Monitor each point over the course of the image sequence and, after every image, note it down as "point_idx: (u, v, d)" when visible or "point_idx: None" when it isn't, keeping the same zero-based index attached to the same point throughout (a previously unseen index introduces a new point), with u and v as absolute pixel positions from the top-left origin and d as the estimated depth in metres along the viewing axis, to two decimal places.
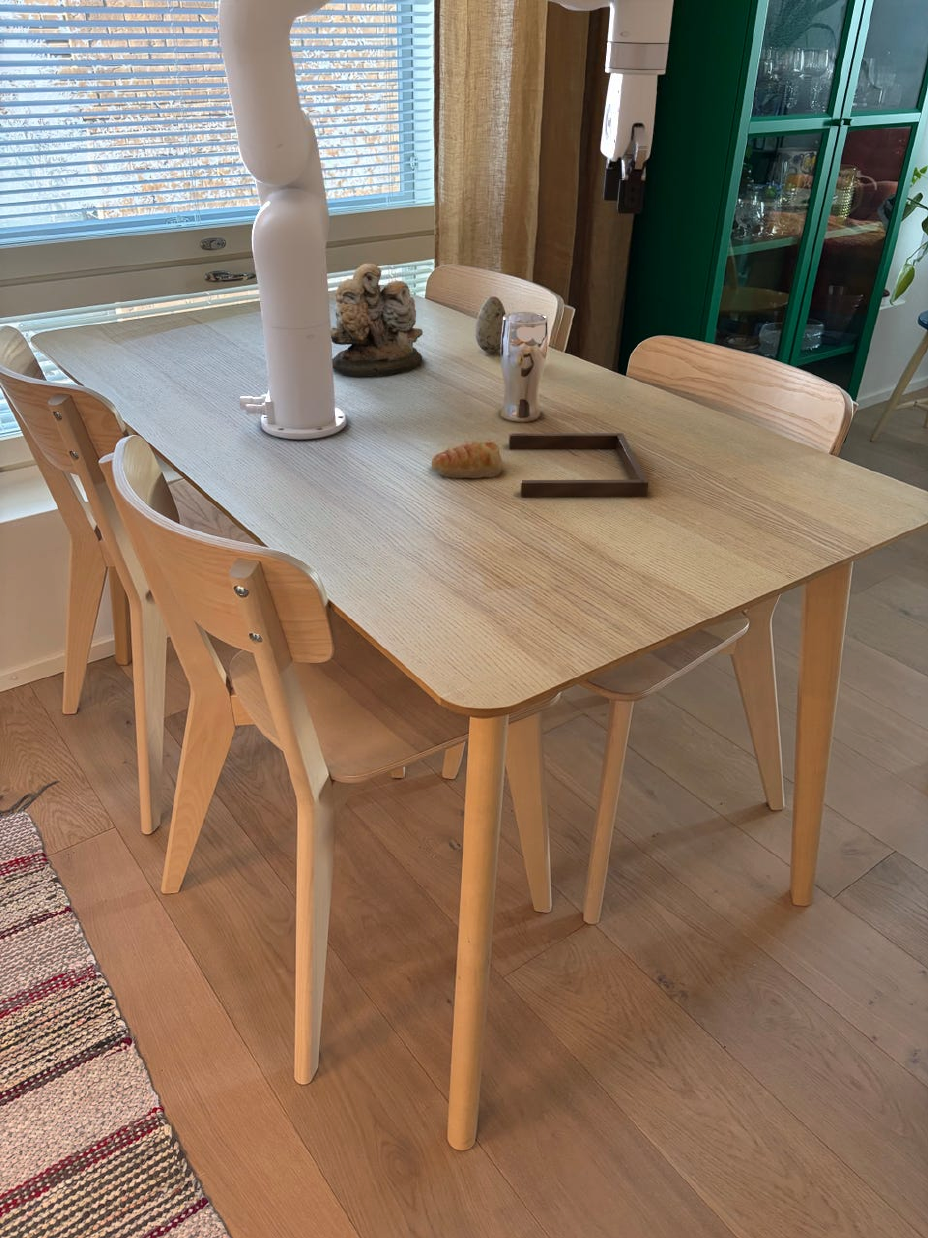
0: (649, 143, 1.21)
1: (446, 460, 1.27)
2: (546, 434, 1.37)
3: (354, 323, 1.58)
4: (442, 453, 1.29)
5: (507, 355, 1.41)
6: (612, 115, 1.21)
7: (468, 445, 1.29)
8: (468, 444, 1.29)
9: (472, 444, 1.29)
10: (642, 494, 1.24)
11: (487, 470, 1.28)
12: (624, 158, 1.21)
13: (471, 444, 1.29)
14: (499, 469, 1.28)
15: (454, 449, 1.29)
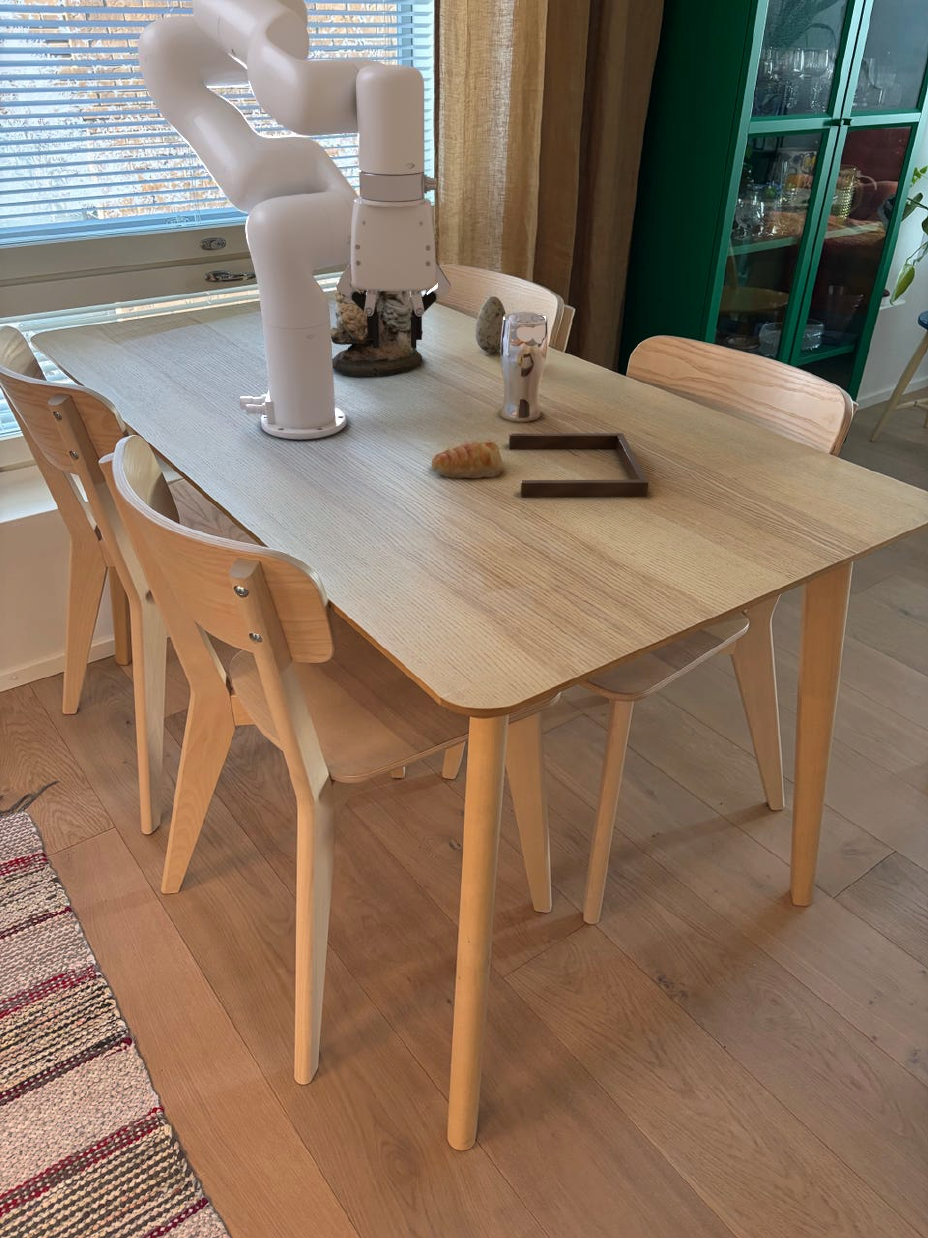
0: (352, 270, 1.14)
1: (446, 460, 1.27)
2: (546, 434, 1.37)
3: (354, 323, 1.58)
4: (442, 453, 1.29)
5: (507, 355, 1.41)
6: None
7: (468, 445, 1.29)
8: (468, 444, 1.29)
9: (472, 444, 1.29)
10: (642, 494, 1.24)
11: (487, 470, 1.28)
12: None
13: (471, 444, 1.29)
14: (499, 469, 1.28)
15: (454, 449, 1.29)
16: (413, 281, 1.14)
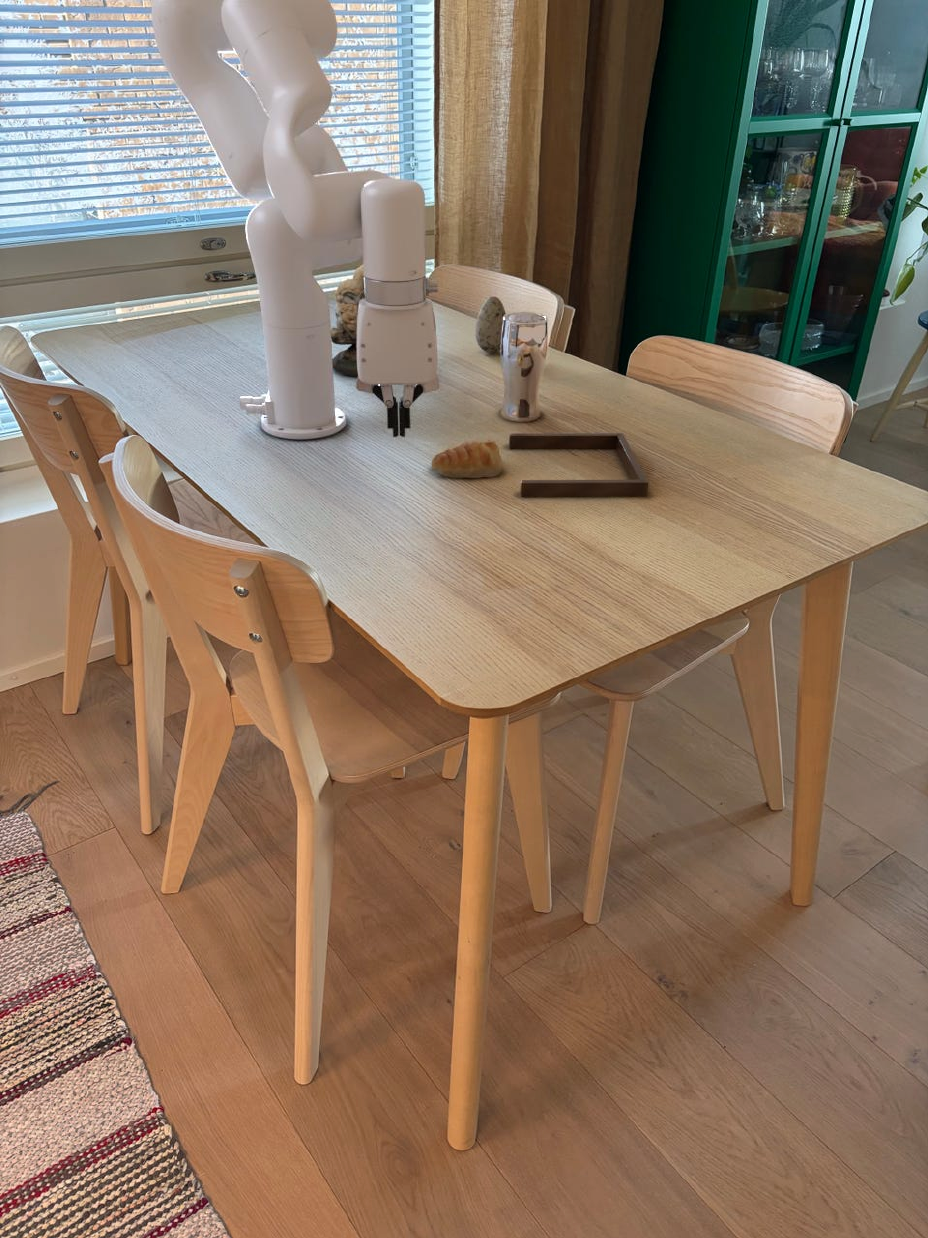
0: (357, 367, 1.20)
1: (446, 460, 1.27)
2: (546, 434, 1.37)
3: (354, 323, 1.58)
4: (442, 453, 1.29)
5: (507, 355, 1.41)
6: None
7: (468, 445, 1.29)
8: (468, 444, 1.29)
9: (472, 444, 1.29)
10: (642, 494, 1.24)
11: (487, 470, 1.28)
12: None
13: (471, 444, 1.29)
14: (499, 469, 1.28)
15: (454, 449, 1.29)
16: (416, 376, 1.21)
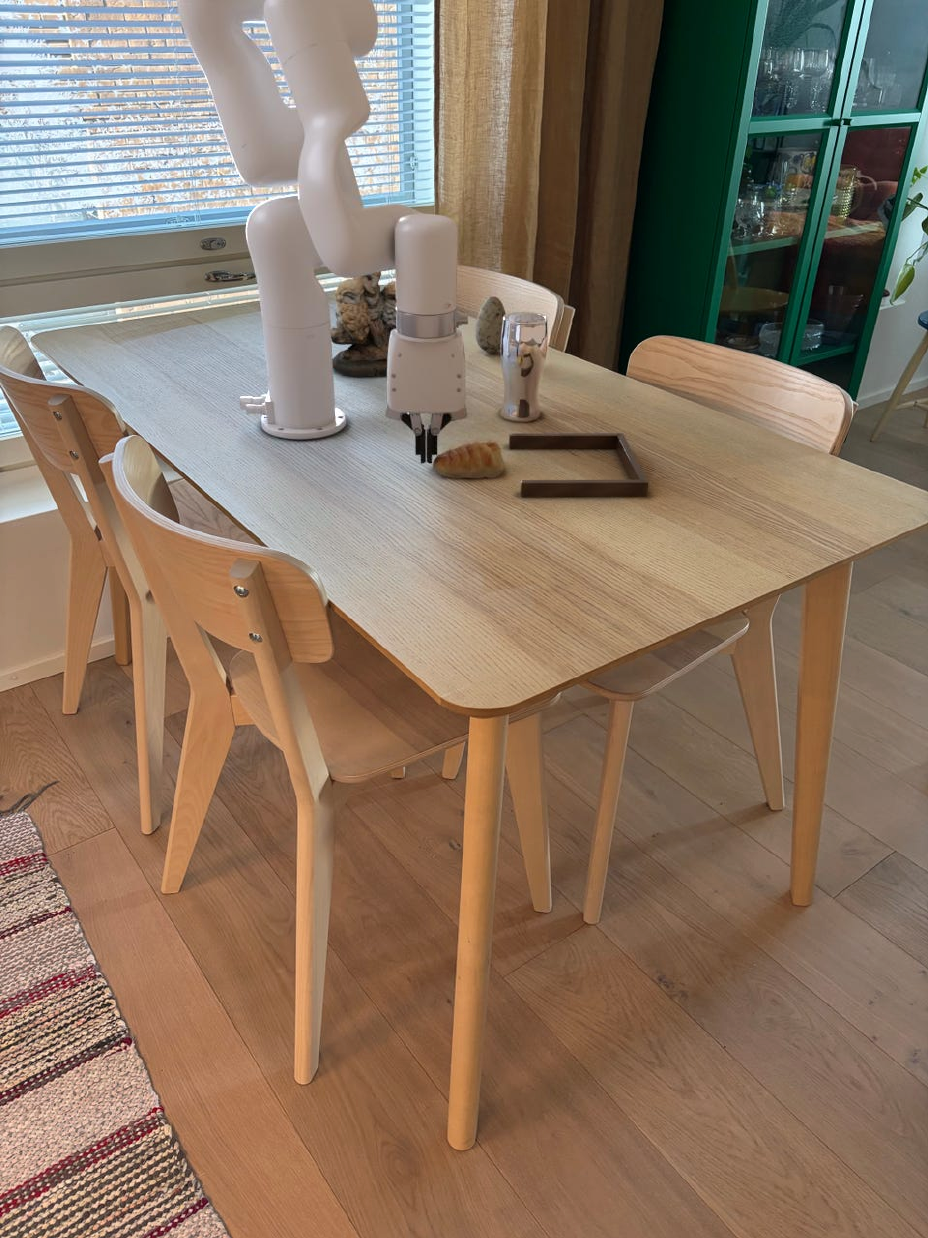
0: (387, 396, 1.22)
1: (448, 460, 1.27)
2: (546, 434, 1.37)
3: (354, 323, 1.58)
4: (443, 453, 1.29)
5: (507, 355, 1.41)
6: None
7: (470, 445, 1.29)
8: (469, 444, 1.29)
9: (473, 444, 1.29)
10: (642, 494, 1.24)
11: (488, 471, 1.28)
12: None
13: (472, 444, 1.29)
14: (500, 470, 1.28)
15: (455, 449, 1.29)
16: (444, 405, 1.23)
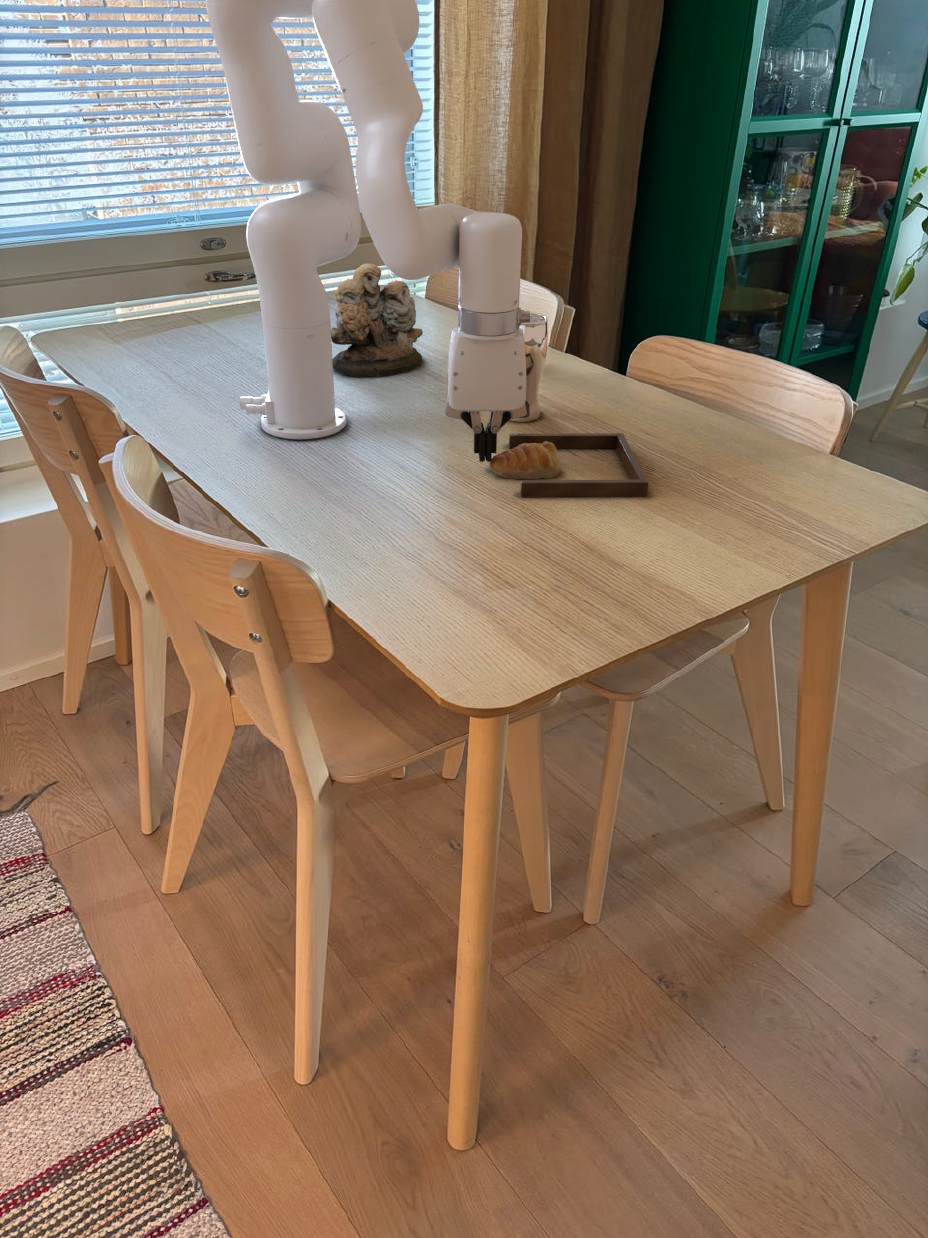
0: (449, 394, 1.22)
1: (505, 461, 1.27)
2: (546, 434, 1.37)
3: (354, 323, 1.58)
4: (500, 454, 1.29)
5: None
6: None
7: (526, 446, 1.29)
8: (526, 445, 1.29)
9: (530, 445, 1.29)
10: (642, 494, 1.24)
11: (545, 472, 1.28)
12: None
13: (529, 445, 1.29)
14: (557, 471, 1.28)
15: (512, 450, 1.29)
16: (505, 403, 1.23)
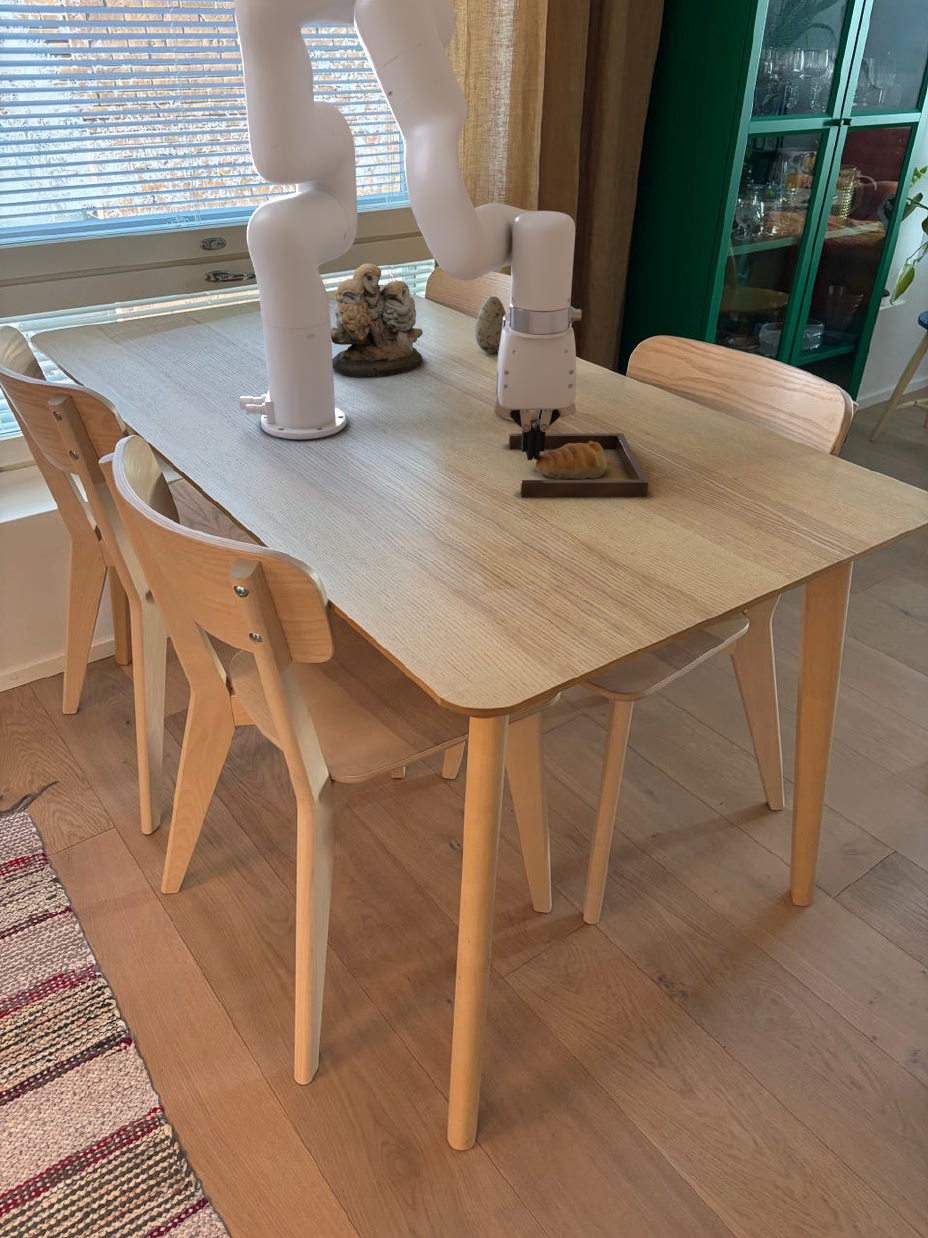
0: (499, 392, 1.23)
1: (552, 461, 1.28)
2: (546, 434, 1.37)
3: (354, 323, 1.58)
4: (546, 454, 1.29)
5: None
6: None
7: (573, 446, 1.29)
8: (572, 445, 1.29)
9: (576, 445, 1.29)
10: (642, 494, 1.24)
11: (591, 472, 1.28)
12: None
13: (575, 445, 1.29)
14: (603, 471, 1.29)
15: (558, 450, 1.29)
16: (555, 402, 1.23)
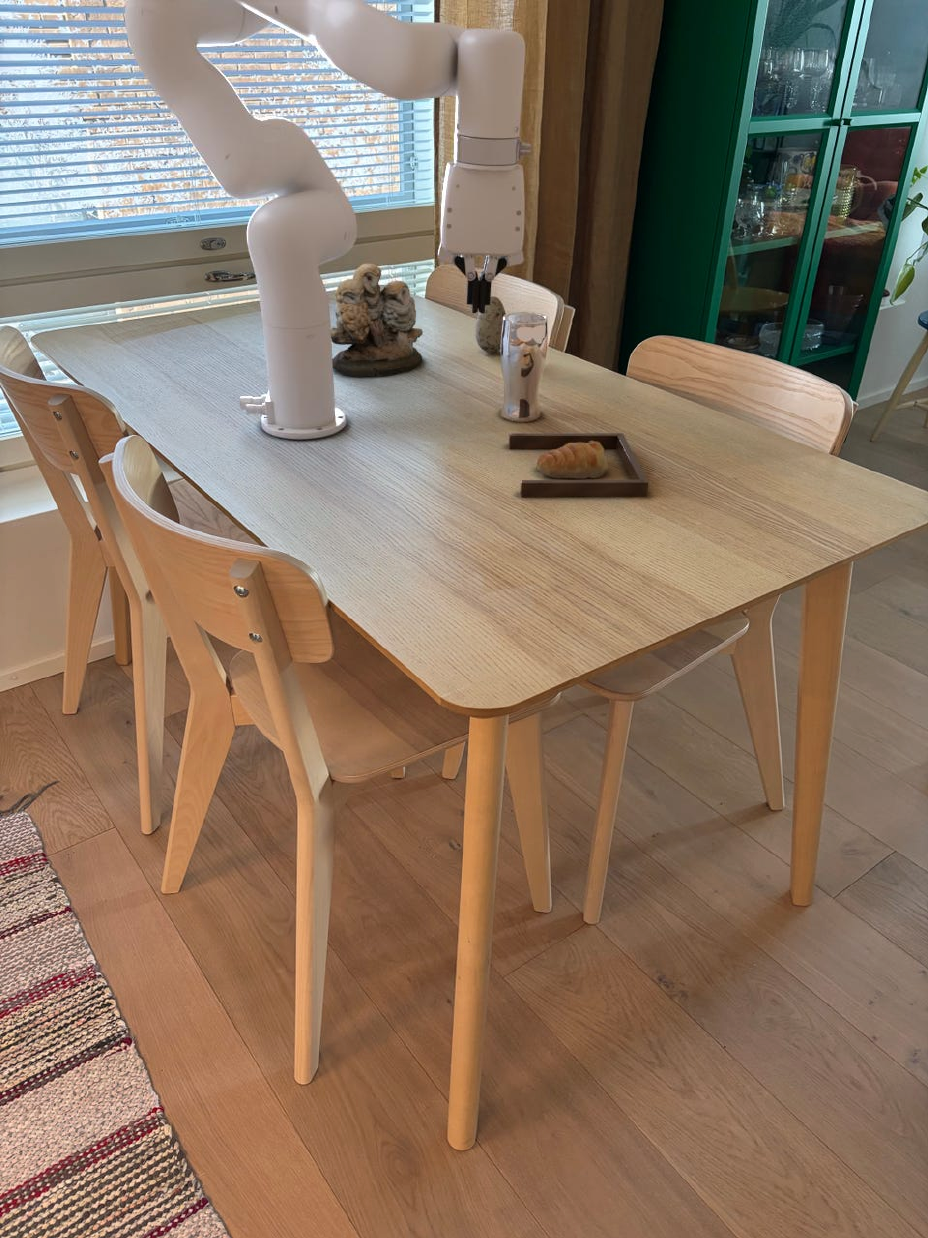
0: (442, 233, 1.15)
1: (553, 461, 1.28)
2: (546, 434, 1.37)
3: (354, 323, 1.58)
4: (547, 454, 1.29)
5: (507, 355, 1.41)
6: None
7: (573, 445, 1.29)
8: (573, 445, 1.29)
9: (577, 445, 1.29)
10: (642, 494, 1.24)
11: (592, 471, 1.28)
12: (464, 255, 1.20)
13: (576, 445, 1.29)
14: (604, 470, 1.29)
15: (559, 450, 1.29)
16: (501, 246, 1.16)
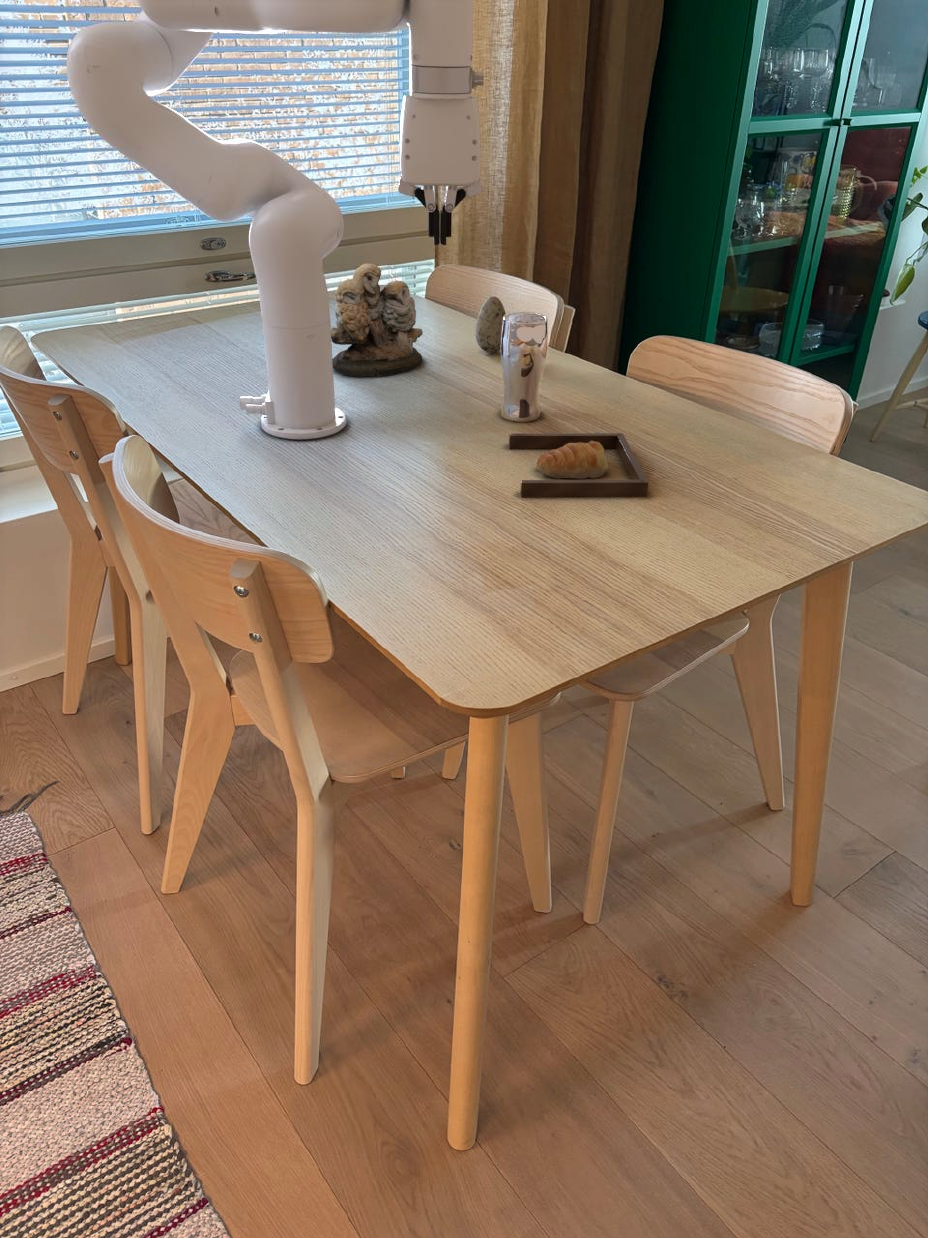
0: (401, 165, 1.19)
1: (553, 461, 1.28)
2: (546, 434, 1.37)
3: (354, 323, 1.58)
4: (547, 454, 1.29)
5: (507, 355, 1.41)
6: None
7: (573, 445, 1.29)
8: (573, 445, 1.29)
9: (577, 445, 1.29)
10: (642, 494, 1.24)
11: (592, 471, 1.28)
12: (424, 188, 1.23)
13: (576, 445, 1.29)
14: (604, 470, 1.29)
15: (559, 450, 1.29)
16: (459, 176, 1.19)
